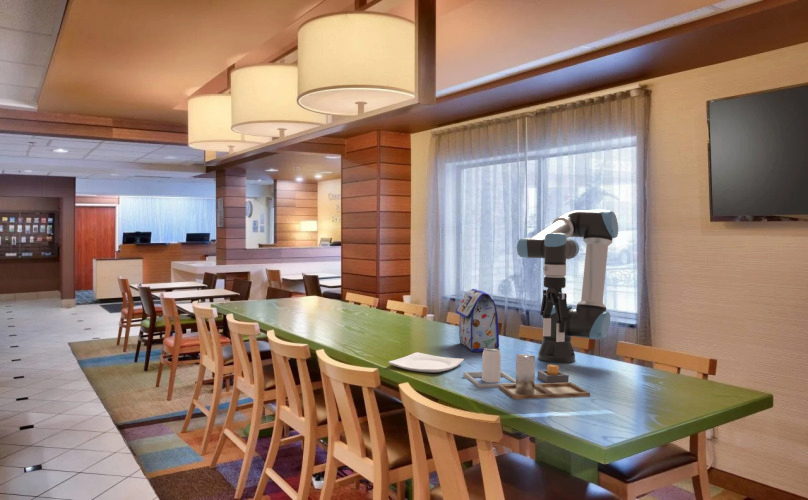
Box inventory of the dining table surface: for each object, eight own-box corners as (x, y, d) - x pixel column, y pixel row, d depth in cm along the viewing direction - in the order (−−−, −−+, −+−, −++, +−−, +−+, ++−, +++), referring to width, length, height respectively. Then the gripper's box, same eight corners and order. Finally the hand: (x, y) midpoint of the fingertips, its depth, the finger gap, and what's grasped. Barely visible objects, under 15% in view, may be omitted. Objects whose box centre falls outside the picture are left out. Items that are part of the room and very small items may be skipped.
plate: (438, 377, 207) (439, 370, 207) (383, 368, 220) (383, 361, 220) (467, 365, 228) (467, 358, 228) (415, 357, 241) (415, 351, 241)
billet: (529, 389, 188) (530, 353, 187) (537, 394, 182) (538, 357, 182) (512, 390, 187) (513, 354, 186) (519, 395, 181) (520, 358, 180)
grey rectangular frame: (502, 375, 210) (502, 370, 210) (520, 388, 192) (521, 383, 192) (463, 377, 207) (463, 372, 207) (478, 390, 190) (479, 385, 190)
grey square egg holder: (558, 379, 206) (558, 369, 206) (568, 385, 198) (568, 375, 198) (537, 380, 204) (537, 370, 204) (547, 386, 196) (547, 376, 196)
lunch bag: (453, 343, 272) (454, 288, 272) (486, 342, 275) (487, 288, 274) (466, 353, 250) (467, 292, 249) (501, 352, 253) (503, 292, 252)
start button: (555, 375, 203) (555, 364, 203) (560, 378, 199) (560, 367, 199) (545, 375, 203) (545, 364, 203) (550, 378, 199) (550, 367, 199)
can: (500, 385, 196) (500, 351, 196) (481, 384, 197) (481, 350, 197) (500, 381, 202) (501, 347, 202) (482, 379, 204) (483, 346, 203)
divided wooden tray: (570, 388, 194) (570, 382, 194) (589, 398, 182) (589, 392, 181) (498, 390, 189) (499, 385, 189) (513, 402, 177) (513, 395, 177)
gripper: (531, 274, 211) (530, 333, 211) (559, 279, 188) (558, 345, 189) (550, 274, 212) (549, 333, 213) (580, 279, 190) (578, 344, 190)
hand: (553, 338), depth 201 cm, fingers open, 10 cm apart
